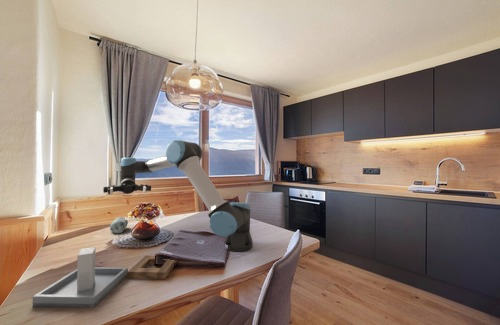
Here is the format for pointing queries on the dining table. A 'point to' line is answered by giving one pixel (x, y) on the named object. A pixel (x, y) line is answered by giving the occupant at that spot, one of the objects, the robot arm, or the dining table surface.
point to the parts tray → (67, 294)
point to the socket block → (150, 269)
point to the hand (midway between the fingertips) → (128, 191)
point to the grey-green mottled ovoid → (118, 225)
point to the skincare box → (86, 269)
